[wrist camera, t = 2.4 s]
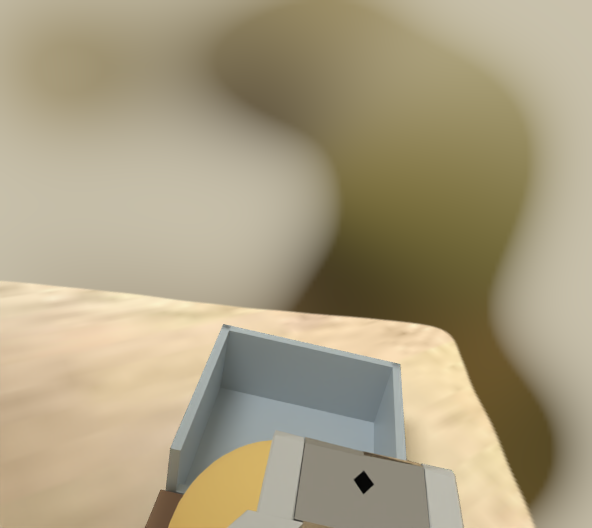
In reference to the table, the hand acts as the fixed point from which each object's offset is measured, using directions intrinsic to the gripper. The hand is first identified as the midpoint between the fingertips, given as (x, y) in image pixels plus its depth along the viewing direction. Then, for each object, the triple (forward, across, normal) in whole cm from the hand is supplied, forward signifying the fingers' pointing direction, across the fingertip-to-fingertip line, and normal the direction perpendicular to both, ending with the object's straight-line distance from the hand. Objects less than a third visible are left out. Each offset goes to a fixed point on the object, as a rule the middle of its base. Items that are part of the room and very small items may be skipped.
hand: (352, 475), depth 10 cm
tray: (+22, 0, +24) cm, 32 cm away
